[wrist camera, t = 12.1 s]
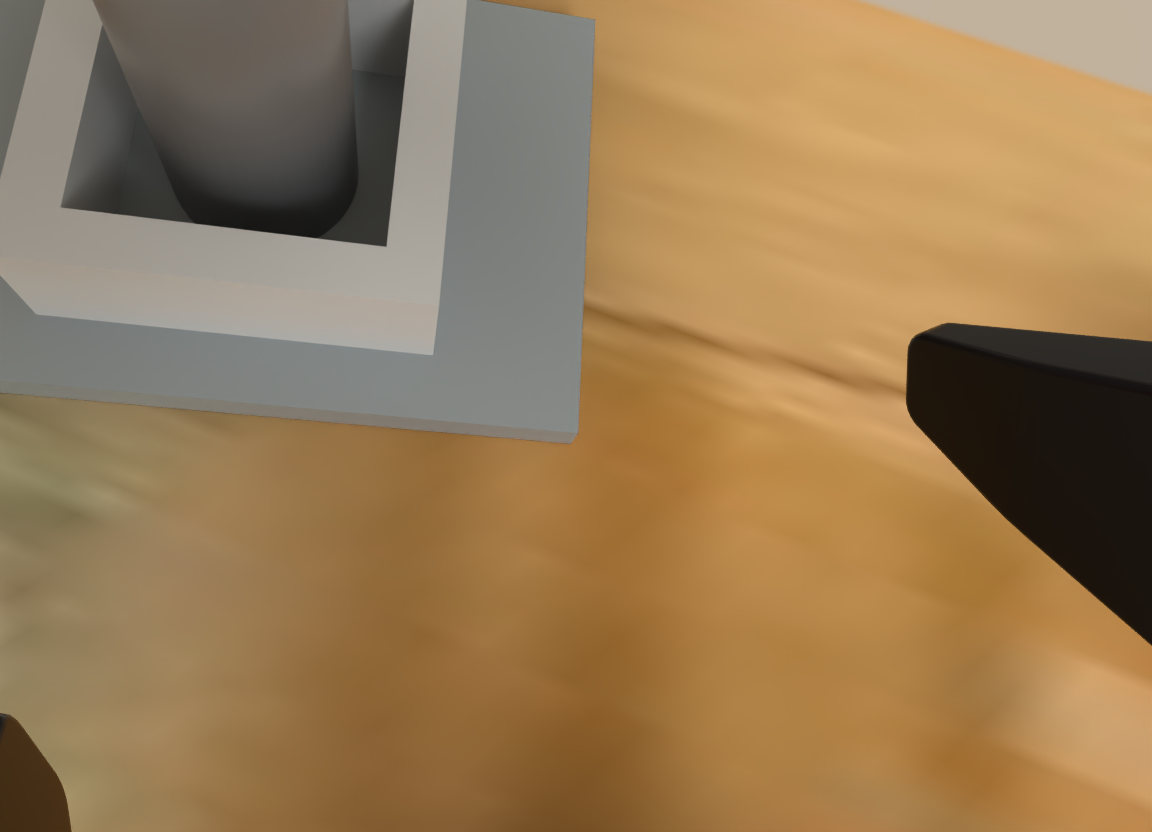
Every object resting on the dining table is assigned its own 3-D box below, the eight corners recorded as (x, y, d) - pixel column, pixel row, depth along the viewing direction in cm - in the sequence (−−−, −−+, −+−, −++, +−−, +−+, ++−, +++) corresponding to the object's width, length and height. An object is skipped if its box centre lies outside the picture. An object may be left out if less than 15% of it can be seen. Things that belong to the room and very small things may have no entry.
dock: (570, 443, 23) (604, 395, 20) (-138, 380, 21) (-255, 309, 17) (588, 43, 27) (620, -63, 23) (-14, -55, 24) (-89, -193, 21)
